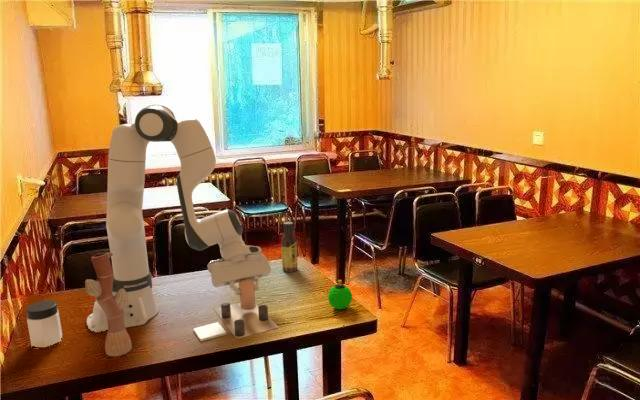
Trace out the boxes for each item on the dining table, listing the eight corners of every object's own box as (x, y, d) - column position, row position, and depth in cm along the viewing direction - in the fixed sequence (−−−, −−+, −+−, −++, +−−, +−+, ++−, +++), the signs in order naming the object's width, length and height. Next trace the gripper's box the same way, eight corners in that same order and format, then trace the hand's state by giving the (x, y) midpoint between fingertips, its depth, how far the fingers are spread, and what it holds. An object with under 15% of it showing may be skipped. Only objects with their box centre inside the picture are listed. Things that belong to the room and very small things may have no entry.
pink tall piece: (133, 341, 154) (121, 247, 147) (134, 352, 148) (122, 254, 141) (95, 349, 151) (81, 252, 144) (95, 361, 144) (80, 260, 137)
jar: (56, 332, 161) (51, 297, 159) (68, 340, 156) (62, 304, 153) (26, 344, 155) (19, 307, 152) (37, 352, 150) (31, 314, 147)
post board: (236, 340, 154) (234, 325, 153) (214, 310, 175) (212, 297, 174) (278, 329, 160) (278, 315, 159) (252, 301, 181) (251, 288, 180)
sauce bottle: (295, 273, 205) (293, 225, 201) (280, 272, 206) (278, 225, 202) (299, 267, 211) (297, 221, 207) (285, 266, 213) (282, 220, 208)
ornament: (349, 314, 167) (348, 286, 165) (325, 312, 170) (324, 284, 167) (354, 304, 175) (354, 277, 173) (332, 302, 177) (331, 275, 175)
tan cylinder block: (243, 311, 167) (242, 285, 165) (238, 305, 171) (236, 280, 169) (257, 307, 170) (256, 282, 168) (252, 302, 174) (250, 277, 172)
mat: (200, 341, 153) (200, 339, 153) (193, 330, 160) (193, 328, 159) (226, 334, 157) (226, 332, 156) (218, 324, 163) (217, 322, 163)
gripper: (207, 257, 167) (219, 295, 161) (264, 246, 177) (277, 281, 171) (204, 266, 172) (215, 303, 166) (260, 254, 182) (273, 289, 176)
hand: (247, 292), depth 169 cm, fingers closed on tan cylinder block, 5 cm apart
